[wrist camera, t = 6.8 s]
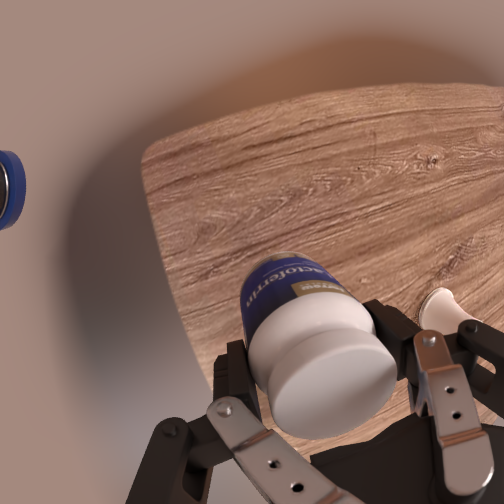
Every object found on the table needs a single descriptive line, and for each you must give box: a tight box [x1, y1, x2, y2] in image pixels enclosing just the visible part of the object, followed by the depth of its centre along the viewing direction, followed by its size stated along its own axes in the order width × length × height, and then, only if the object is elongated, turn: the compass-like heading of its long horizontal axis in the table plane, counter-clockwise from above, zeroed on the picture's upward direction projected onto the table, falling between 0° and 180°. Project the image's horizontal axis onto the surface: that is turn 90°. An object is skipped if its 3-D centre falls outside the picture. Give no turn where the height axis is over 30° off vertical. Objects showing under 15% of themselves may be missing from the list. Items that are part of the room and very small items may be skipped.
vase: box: [419, 287, 483, 335], centre depth 32 cm, size 8×8×10 cm
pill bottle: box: [240, 251, 398, 440], centre depth 13 cm, size 6×6×10 cm
